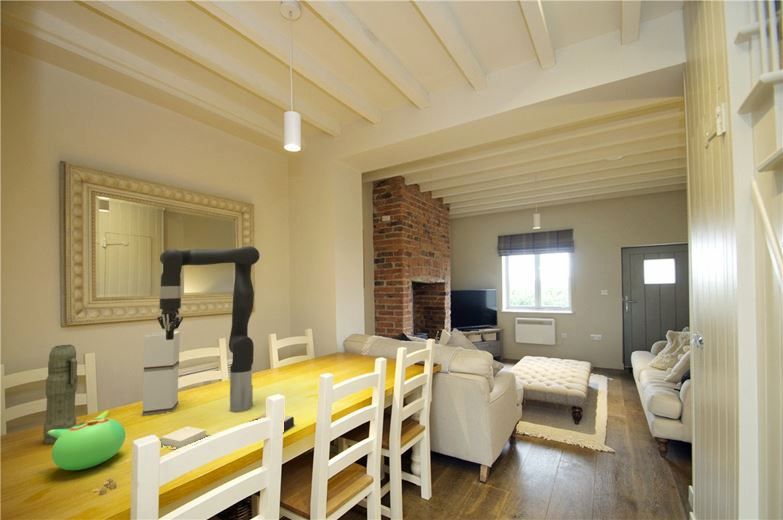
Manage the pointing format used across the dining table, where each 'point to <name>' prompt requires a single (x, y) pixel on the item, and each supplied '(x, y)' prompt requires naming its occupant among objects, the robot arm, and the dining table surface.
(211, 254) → the robot arm
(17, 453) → the dining table surface
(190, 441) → the tile
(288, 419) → the calculator
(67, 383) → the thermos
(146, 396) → the grooved grey pillar
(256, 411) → the dining table surface
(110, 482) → the dice set
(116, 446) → the green eared figurine
